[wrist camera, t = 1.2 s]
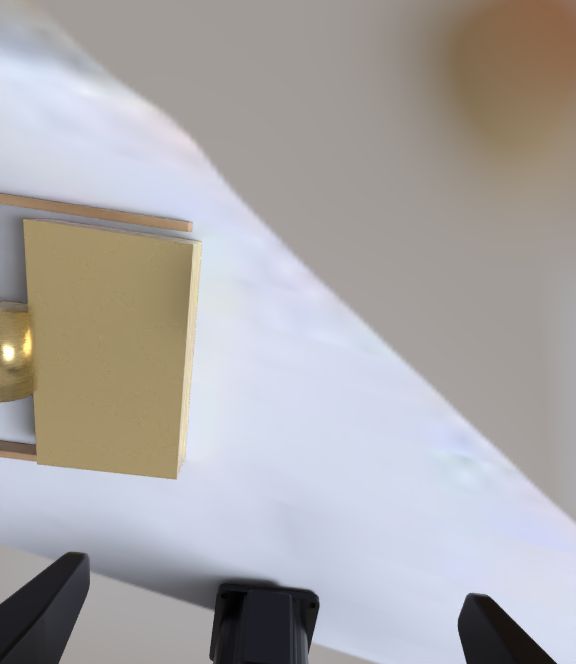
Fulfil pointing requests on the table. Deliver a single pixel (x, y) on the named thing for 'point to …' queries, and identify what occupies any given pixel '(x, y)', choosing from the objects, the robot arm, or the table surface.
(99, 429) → the brass hinge plate
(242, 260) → the table surface
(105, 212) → the guide rails
